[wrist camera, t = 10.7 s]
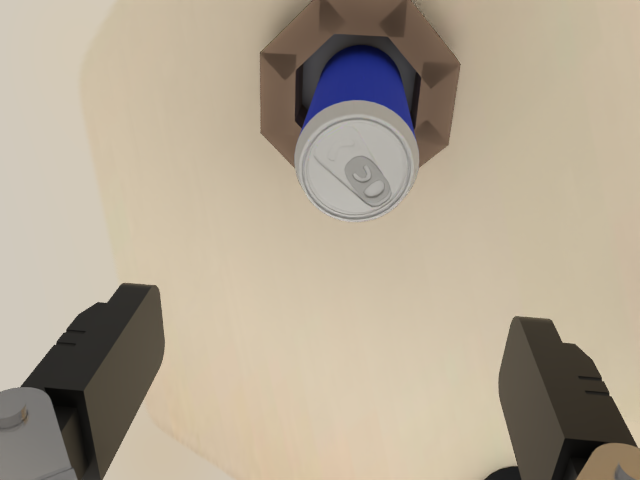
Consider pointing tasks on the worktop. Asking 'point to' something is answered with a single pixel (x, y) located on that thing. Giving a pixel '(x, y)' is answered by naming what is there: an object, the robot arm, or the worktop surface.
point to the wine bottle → (506, 474)
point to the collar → (350, 30)
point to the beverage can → (357, 138)
